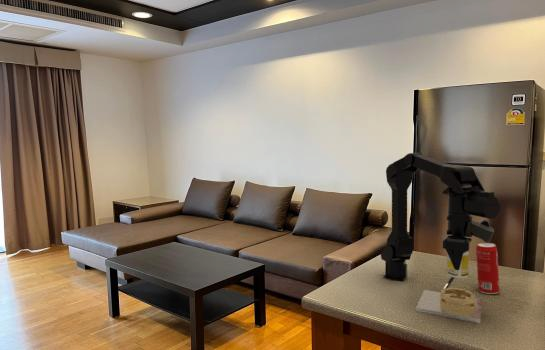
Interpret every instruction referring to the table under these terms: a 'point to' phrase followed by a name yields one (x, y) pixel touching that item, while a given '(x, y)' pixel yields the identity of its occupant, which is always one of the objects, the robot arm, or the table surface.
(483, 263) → the beverage can
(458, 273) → the supplement bottle
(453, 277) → the pen
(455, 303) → the plate
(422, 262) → the table surface
